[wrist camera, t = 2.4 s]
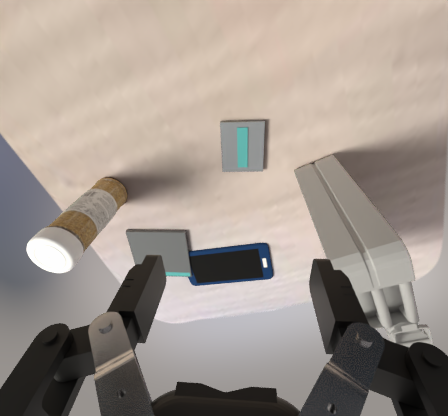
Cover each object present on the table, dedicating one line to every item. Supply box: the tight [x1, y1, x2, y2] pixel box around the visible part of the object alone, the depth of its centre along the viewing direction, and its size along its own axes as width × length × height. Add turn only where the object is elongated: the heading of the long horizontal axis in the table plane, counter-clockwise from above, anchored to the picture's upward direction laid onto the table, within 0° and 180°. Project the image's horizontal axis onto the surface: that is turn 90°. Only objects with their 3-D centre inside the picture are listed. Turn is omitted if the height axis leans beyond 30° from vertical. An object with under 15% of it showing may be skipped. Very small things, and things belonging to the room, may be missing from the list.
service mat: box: [126, 230, 192, 277], centre depth 41 cm, size 9×9×1 cm
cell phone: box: [189, 243, 273, 286], centre depth 41 cm, size 7×14×1 cm, turn 102°
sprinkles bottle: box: [27, 178, 127, 273], centre depth 30 cm, size 5×5×13 cm
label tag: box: [220, 120, 265, 172], centre depth 31 cm, size 6×5×1 cm
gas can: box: [294, 155, 433, 348], centre depth 24 cm, size 15×5×25 cm, turn 27°
